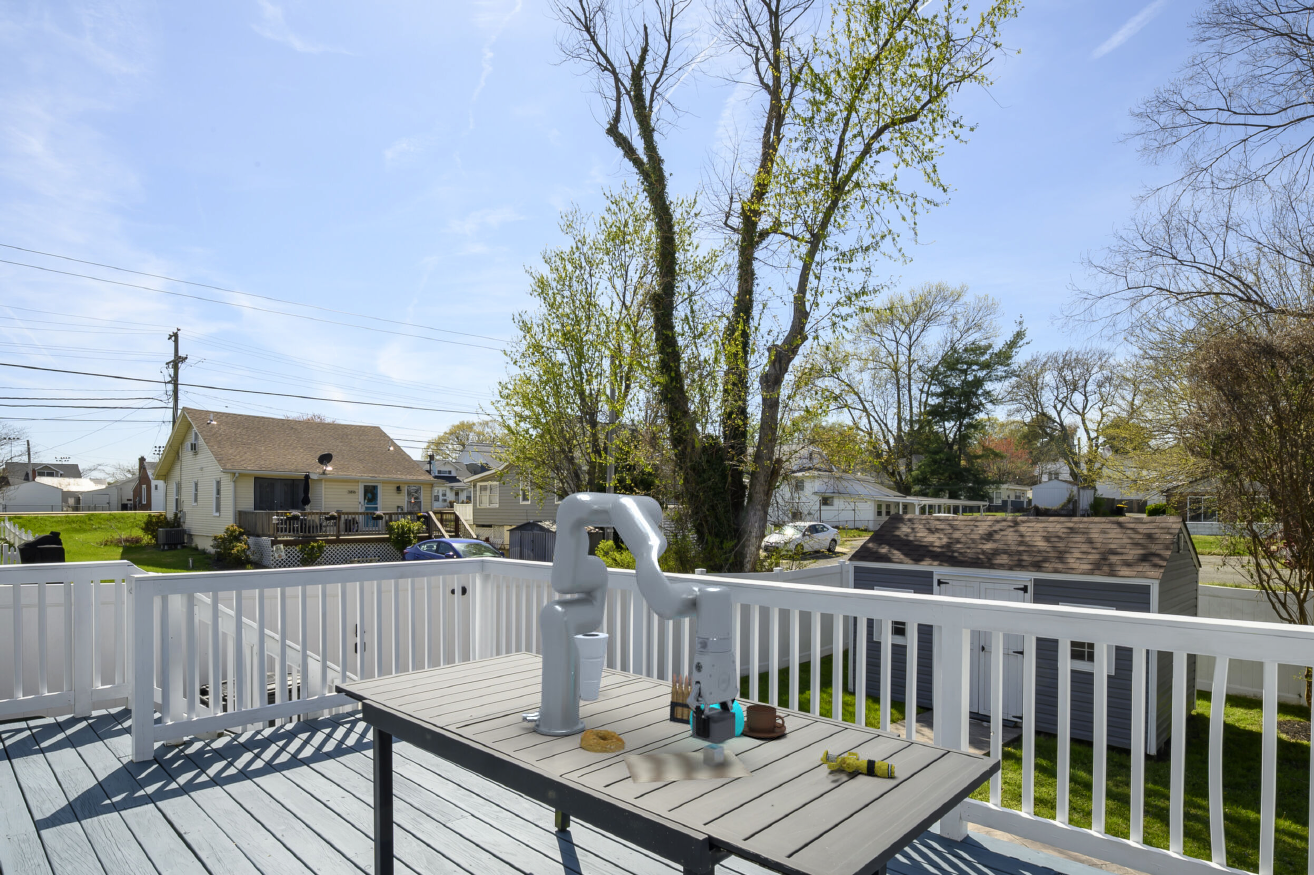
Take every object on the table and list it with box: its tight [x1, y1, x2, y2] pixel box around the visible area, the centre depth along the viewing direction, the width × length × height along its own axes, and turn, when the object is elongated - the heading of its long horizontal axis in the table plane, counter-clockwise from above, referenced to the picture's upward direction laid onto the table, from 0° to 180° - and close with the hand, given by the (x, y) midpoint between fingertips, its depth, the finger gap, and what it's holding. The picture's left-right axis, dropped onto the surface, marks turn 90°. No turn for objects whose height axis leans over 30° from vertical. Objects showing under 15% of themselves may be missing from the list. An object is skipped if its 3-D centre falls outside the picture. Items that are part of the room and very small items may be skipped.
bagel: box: [579, 728, 626, 754], centre depth 159 cm, size 10×11×5 cm
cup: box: [574, 631, 609, 702], centre depth 207 cm, size 11×11×18 cm
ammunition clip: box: [668, 673, 703, 726], centre depth 183 cm, size 11×2×12 cm, turn 60°
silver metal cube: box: [702, 743, 725, 767], centre depth 148 cm, size 3×3×4 cm
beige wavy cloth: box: [622, 750, 754, 784], centre depth 147 cm, size 24×16×2 cm, turn 100°
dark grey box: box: [691, 707, 736, 745], centre depth 149 cm, size 6×6×5 cm
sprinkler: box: [820, 749, 896, 779], centre depth 149 cm, size 19×4×15 cm
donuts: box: [689, 699, 745, 737], centre depth 168 cm, size 10×10×10 cm
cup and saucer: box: [741, 704, 787, 739], centre depth 175 cm, size 12×12×6 cm
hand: (713, 732), depth 148 cm, fingers closed on dark grey box, 6 cm apart
